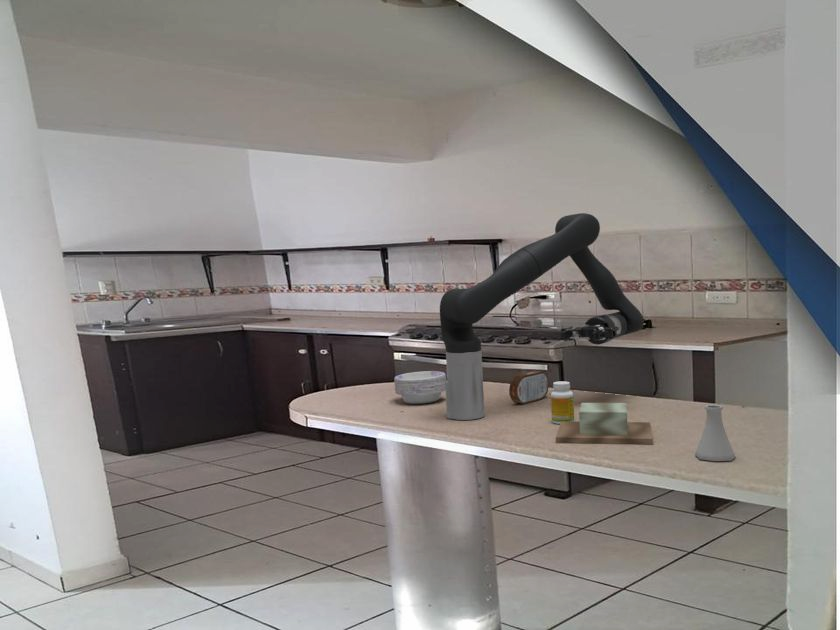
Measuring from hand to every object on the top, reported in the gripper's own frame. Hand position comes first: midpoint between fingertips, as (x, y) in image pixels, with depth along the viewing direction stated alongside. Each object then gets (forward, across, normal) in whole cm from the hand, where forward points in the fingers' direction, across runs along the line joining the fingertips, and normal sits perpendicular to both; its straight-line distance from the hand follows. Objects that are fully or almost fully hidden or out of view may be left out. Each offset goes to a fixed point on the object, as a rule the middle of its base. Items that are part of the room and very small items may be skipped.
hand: (578, 336), depth 178 cm
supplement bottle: (+11, 0, +20) cm, 23 cm away
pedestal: (+19, +13, +20) cm, 30 cm away
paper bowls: (+3, -49, +20) cm, 53 cm away
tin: (-8, -19, +20) cm, 29 cm away
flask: (+27, +39, +20) cm, 51 cm away
